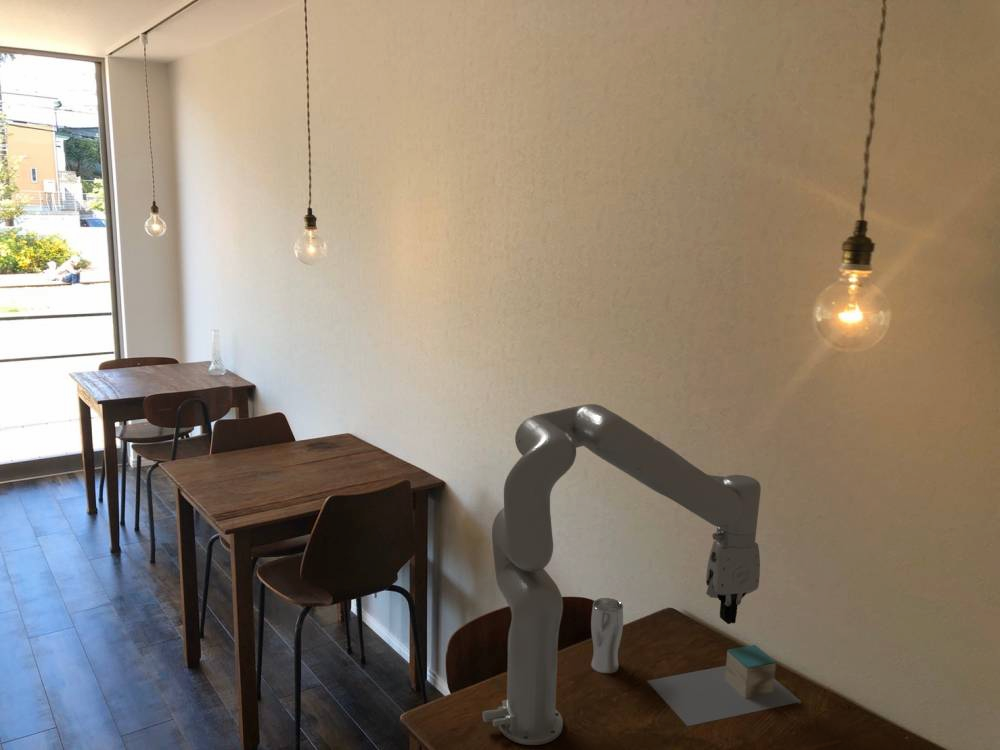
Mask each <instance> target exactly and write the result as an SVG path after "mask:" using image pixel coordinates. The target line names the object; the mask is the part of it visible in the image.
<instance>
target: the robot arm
mask: <svg viewBox="0 0 1000 750" xmlns="http://www.w3.org/2000/svg"><path fill="white" fill-rule="evenodd" d="M514 438H515V439H514V441H515V446H516V449H517V451H518V452H519V453H520V454H521V455H522V456H521V457H520V458H519V459H518V460H517V462H516V463H515V464H514V465H513V467H512V468H511V470H510V471H509V473H508V474H507V476H506V479H505V483H504V486H503V508H502V509H500V510H499V512H497V514H496V515H495V517H494V519H493V522H492V526H491V529H492V530H491V539H492V540H491V541H492V550H493V561H494V563H493V564H494V571H495V579H496V583H497V586H498V588H499V591H500V593H501V594H502V596H503V597H504V599H505V601H506V603H507V605H508V607H509V609H510V612H511V622H510V627H509V629H508V636H507V673H506V674H507V677H506V679H507V680H506V685H507V686H506V699H503V700H501V706H498V707H497V708H496V709H490V710H489V709H488V710H484V711H482V713H481V714H482V715H481V716H482V720H483V722H484V723H487V722H492V725H493V728H498V729H499V730H500V732H501V733H502V735H503V736H504V737H506V738H507V739H509V740H510V741H512V742H514V743H516V744H517V743H518V744H520V745H524V746H525V745H526V746H540V745H544V744H545V745H546V744H548V743H550V742H552V741H554V740H556V739H557V738H558V737H559V736H560V735H561V733H562V731H563V727H564V719H563V717H562V715H561V713H560V712H559V711H558V710H557V709H556V705H557V704H556V703H557V676H558V675H557V674H558V647H559V643H558V642H559V634H560V633H559V632H560V625H561V620H562V616H563V611H564V602H563V596H562V593H561V591H560V588H559V587H558V585H557V583H556V582H555V581H554V579H553V578H552V576H550V574H549V573H548V572H547V571H546V570H545V568H546V567H547V566H548V565H549V563H550V561H551V559H552V557H553V553H554V538H553V529H552V515H551V492H552V489H553V488H554V486H555V485H556V483H557V482H558V481H559V480H560V479H561V478H562V477H563V476H564V475H565V474H566V473H568V472H569V470H570V469H571V468H572V466H573V465H574V463H575V461H576V456H577V448H580V447H584V448H586V449H588V450H589V452H592V454H595V456H597V457H598V458H600V459H602V460H604V461H605V462H607V463H608V464H610V465H612V466H613V467H615V468H617V469H619V470H620V471H622V472H623V473H625V474H627V475H628V476H629V477H631V478H633V479H635V480H636V481H638V482H639V483H641V484H642V485H645V486H646V487H647V488H649V489H651V490H653V491H654V492H656V493H658V494H659V495H662V496H663V497H666V498H668V499H670V500H671V501H673V502H675V503H677V504H678V505H680V506H681V507H683V508H685V509H686V510H688V511H690V512H691V513H693V514H695V515H696V516H697V517H700V518H701V519H703V520H704V521H706V522H708V524H710V525H713V526H714V527H717V528H716V532H713V533H712V536H711V537H712V539H713V543H712V546H711V550H710V553H709V558H708V562H707V568H706V578H705V579H706V580H705V583H706V586H707V589H706V593H705V594H706V595H707V596H708V597H710V598H713V599H718V601H720V606H719V607H720V608H719V618H720V619H721V620H722V621H723V622H725V623H726V624H727V625H732V624H735V623H736V621H737V620H736V619H737V614H738V607H739V606H740V605H741V603H742V600H743V598H744V597H745V596H746V595H748V594H750V593H752V592H754V591H756V590H758V589H759V586H760V576H761V575H760V574H761V557H760V548H759V544H758V543H757V542H756V536H757V530H758V529H757V528H758V527H757V526H758V520H759V519H758V518H759V509H760V500H761V499H760V498H761V489H762V487H761V483H760V481H759V480H757V479H756V478H754V477H751V476H747V475H742V474H730V475H727V476H724V475H723V476H720V475H710V474H707V473H706V472H704V471H702V470H700V469H699V468H698V467H697V466H695V465H693V464H692V463H691V462H689V461H688V460H686V459H685V458H684V457H682V455H680V454H679V453H677V452H676V451H675V450H673V449H671V448H670V447H668V446H667V445H666V444H664V443H662V441H660V440H658V439H657V438H655V437H653V436H651V435H650V434H648V433H647V432H645V431H643V430H642V429H641V428H639V427H637V426H636V425H634V424H633V423H631V422H630V421H628V420H626V419H625V418H623V417H622V416H620V415H619V414H617V413H615V412H613V411H611V410H609V409H607V408H606V407H604V406H602V405H600V404H596V403H590V404H582V405H581V404H580V405H575V406H572V407H566V408H563V409H560V410H554V411H549V412H545V413H540V414H536V415H533V416H530V417H528V418H526V419H525V420H523V422H522V423H521V424H520V425H519V426H518V428H517V430H516V432H515V437H514Z"/></svg>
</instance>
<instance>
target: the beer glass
mask: <svg viewBox="0 0 1000 750" xmlns="http://www.w3.org/2000/svg"><path fill="white" fill-rule="evenodd" d="M591 608H592V609H591V618H590V630H591V638H592V647H593V655H592V660H591V664H590V665H591V667H592V669H593V670H594V671H596V672H598V673H601V674H612V673H613V674H614V673H616V672H617V671H618V670H619V667H620V665H619V658H618V654H619V649H620V644H621V639H622V635H623V628H624V604H623V603H622V602H621V601H619V600H617V599H614V598H611V597H602V598H601V597H600V598H598V599H595V600H594V601H593V602H592V607H591Z"/></svg>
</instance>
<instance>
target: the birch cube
mask: <svg viewBox="0 0 1000 750" xmlns="http://www.w3.org/2000/svg"><path fill="white" fill-rule="evenodd" d="M726 652H727V653H726V662H725V666H726V673H725V680H726V681H727V682H728V683H729V684H730V685H732V686H733V687H734V688H735V689H736V690H737V691H738V692H739V693H740V694H741V695H742V696H743V697H744V698H747V697H752V696H757V695H762V694H767V693H771V692H773V688H774V679H775V677H776V667H777V662H776V660H774V659H773V658H772V657H771V656H770V655H768V654H767V653H766V652H764V651H763V650H762V649H761V648H760V647H759V646H757V645H756V644H751V645H746V646H742V647H735V648H729V649H727V650H726Z"/></svg>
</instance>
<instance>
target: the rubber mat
mask: <svg viewBox="0 0 1000 750" xmlns="http://www.w3.org/2000/svg"><path fill="white" fill-rule="evenodd" d="M725 673H726V665H722V666H717V667H712V668H708V669H701V670H697V671H691V672H685V673H680V674H676V675H675V674H674V675H670V676H664V677H661V678H654V679H649V680H646V682H647V683H648V684H649V686H651V687H652V688H653V690H654V691H655V692H656V693H657V694H658V695H659V697H661V698H662V699H663V701H664V702H665V703H666V704H667V705H668V706H669V707H670V709H671V710H672V711H673V712H674V713H675V714H676V715H677V716H678V717H679V719H680V720H681V721H682V722H683V723H684V724H685V725H686V726H687V727H690V726H695V725H699V724H705V723H709V722H710V723H711V722H715V721H719V720H723V719H728V718H732V717H737V716H742V715H746V714H747V715H748V714H751V713H756V712H760V711H765V710H769V709H774V708H779V707H783V706H789V705H792V704H798V705H801V704H802V701H801V699H799V698H798V697H797V696H796V695H794V694H793V693H792V692H791V691H790V690H789V689H788V688H786V687H785V686H784V685H783V684H781V683H780V682H779V681H778V680H776V678H774V688H773V692H771V693H767V694H762V695H757V696H752V697H747V698H744V697H743V696H742V695H741V694H740V693H739V692H738V691H737V690H736V689H735V688H734V687H733V686H732V685H730V684H729V683H728V682H727V681H726V680H725Z"/></svg>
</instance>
